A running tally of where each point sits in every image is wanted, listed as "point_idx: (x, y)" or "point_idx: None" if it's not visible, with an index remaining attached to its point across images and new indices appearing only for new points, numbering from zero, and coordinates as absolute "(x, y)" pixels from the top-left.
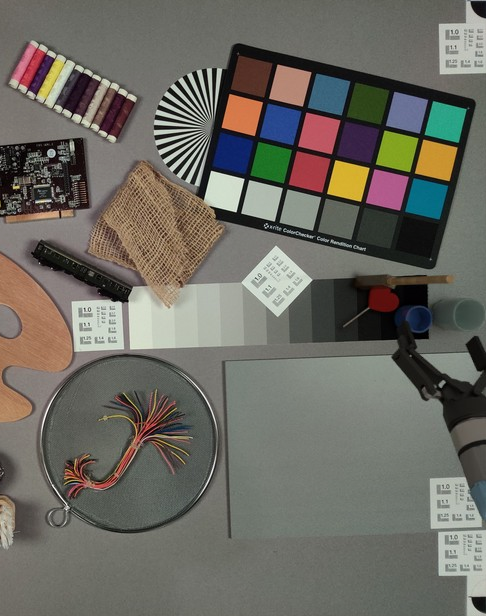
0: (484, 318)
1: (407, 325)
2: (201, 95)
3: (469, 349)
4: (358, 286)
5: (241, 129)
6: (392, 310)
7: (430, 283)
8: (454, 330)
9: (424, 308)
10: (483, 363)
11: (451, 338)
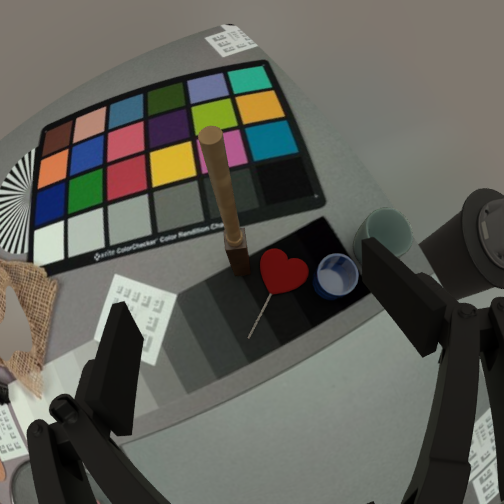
0: (409, 226)
1: (112, 317)
2: (21, 175)
3: (374, 290)
4: (236, 273)
5: (53, 179)
6: (304, 281)
7: (219, 185)
8: None
9: (336, 255)
10: (425, 321)
11: None
